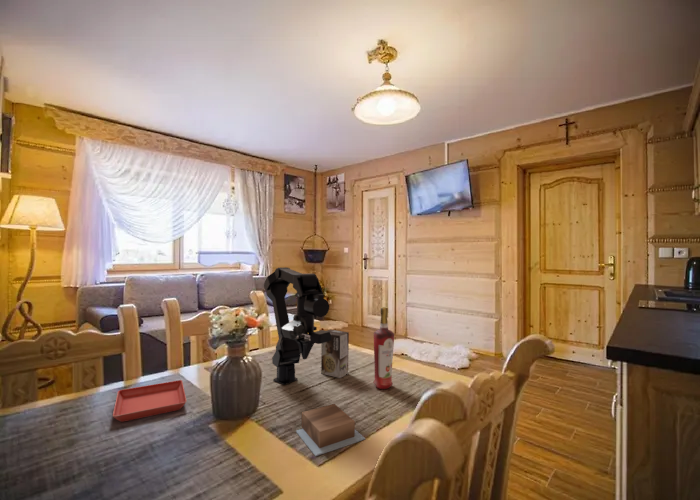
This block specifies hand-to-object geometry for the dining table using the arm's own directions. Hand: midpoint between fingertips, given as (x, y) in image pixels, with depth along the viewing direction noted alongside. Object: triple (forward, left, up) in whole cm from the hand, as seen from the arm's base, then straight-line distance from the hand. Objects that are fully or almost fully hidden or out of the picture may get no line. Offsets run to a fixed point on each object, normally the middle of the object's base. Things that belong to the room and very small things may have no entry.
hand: (304, 358), depth 109 cm
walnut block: (+16, -10, -10) cm, 21 cm away
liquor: (+16, +23, -12) cm, 31 cm away
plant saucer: (-30, -35, -13) cm, 48 cm away
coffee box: (-5, +21, -12) cm, 25 cm away
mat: (+22, -12, -12) cm, 28 cm away
